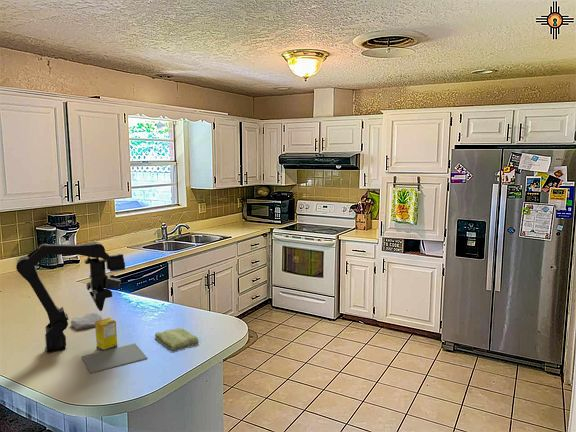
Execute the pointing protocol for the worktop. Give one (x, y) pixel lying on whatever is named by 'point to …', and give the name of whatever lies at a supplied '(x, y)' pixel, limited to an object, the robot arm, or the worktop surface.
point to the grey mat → (113, 358)
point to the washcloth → (176, 338)
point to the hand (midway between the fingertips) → (100, 309)
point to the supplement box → (106, 334)
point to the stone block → (86, 321)
